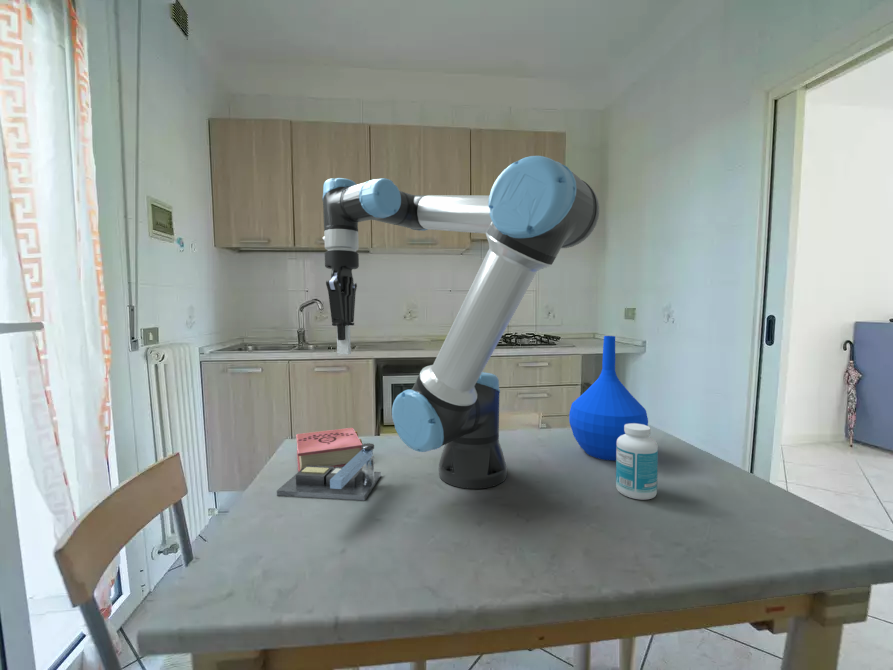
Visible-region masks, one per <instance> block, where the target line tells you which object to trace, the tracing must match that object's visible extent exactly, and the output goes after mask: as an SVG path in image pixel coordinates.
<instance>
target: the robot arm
mask: <svg viewBox="0 0 893 670" xmlns="http://www.w3.org/2000/svg"><path fill="white" fill-rule="evenodd" d="M322 189H323V193H322V209H323V211H322V212H323V231H324V233H323V235H324V236H323V237H322V240H323V241H324V249H325V250H326V251H325V252H324V267H325V268H326V269H329V270H331V271H330V272H331V273H330V279H328V280H326V281H325V285H326V289H327V293H328V301H329V307H330V308H329V310H330V317H331V326H332V327H336V355H351V352H352V350H351V349H352V347H351V326H355V321H354V320H355V310H356V309H355V308H356V307H355V306H356V294H357V292H356V291H357V289H358V288H357V287H358V283H357V282H354V276H353V270H357V269H359V267H360V263H359V262H360V261H359V259H360V258H359V253H358V252H357V251H358V250H359V248H360V247H359V245H360V241H359V223H361V222H365V221H377V222H380V223H381V222H382V223H385V224H389V225H395V226H398V227H399V226H400V227H402V228H407V229H410V230H414V231H423V232H424V231H428V230H435V231H448V232H456V233H458V232H460V233H470V234H471V233H472V234H473V233H475V234H485V236H486V238H487V242H488V247H489V249H488V250H487V252H486V254H485V256H484V258H483V261H482V263H481V264H480V267H479V269H478V270H477V273H476V275H475V277H474V280H473V281H472V284H471V286H470V287H469V290H468V292H467V294H466V295H465V298H464V299H463V302H462V304H461V306H460V308H459V310H458V313H457V315H456V316H455V318H454V320H453V323H452V325H451V327H450V329H449V332H448V333H447V335H446V336H445V338H444V339H445V340H444V341H443V343H442V346H441V348H440V350H439V352H438V354H437V356H436V358H435V360H434V361H433V364H430V365H427V366H424V367H422V369H421V370H420V372H419V374H418V376H417V378H416V380H415V382H414V384H413V387H412V388H411V389H405V390H403V391H402V392H400V393H399V394H397V395H396V397H395V399H394V400H393V403H392V406H391V407H392V409H391V417H392V422H393V424H394V429H395V431H396V434H397V435H398V437H399V438H400V440H401V441H402V442H403V444H405V446H407V447H408V448H410V449H411V450H413V451H415V452H419V453H427V452H429V451H435V450H437V449H439V448H441V447H443V449H442V452H441V455H440V458H439V462H438V476H439V478H440V479H441V480H442V481H443V482H444V483H446V484H448V485H450V486H454V487H457V488H460V489H461V488H462V489H470V490H471V489H472V490H473V489H477V490H478V489H486V488H492V487H495V486H497V485H500V484H502V483H503V482H504V481H505V480H506V478H507V472H508V471H507V469H508V468H507V466H508V465H507V463H506V462H507V461H506V458H505V456H504V453H503V452H504V451H503V449H502V446H501V444H500V393H501V389H500V379H499V378H498V376H497V375H496V374H494V373H490V372H484V369H485V367H486V366H487V364H488V362H489V360H490V358H491V357H492V355H493V353H494V351H495V349H496V348H497V346H498V344H499V342H500V340H501V339H502V337H503V335H504V333H505V330H506V329H507V327H508V326H509V325H510V324H509V323H510V322H511V320H512V319H513V316H514V315H515V313H516V311H517V309H518V307H519V306H520V303H522V300H523V298H524V296H525V295H526V292H527V291H528V289H529V287H530V286H531V283H532V282H533V280H534V278H535V277H536V275H537V272H539V271H541V270H544V269H547V268H549V267H551V266H552V265H553V264H554V261H555V260H556V258H557V257H558V254H559V253H560V251H561V250H562V249H568V248H572V247H575V246H578V245H580V244H581V243H583V242H584V241H586V240H587V239H588V238H589V237H590V235H591V234H592V232H594V231H595V228H596V226H597V224H598V221H599V219H600V203H599V199H598V196H597V193H596V192H595V190H594V189H593V188H592V187H591V185H590V184H588V183H587V182H586V181H584V180H582V179H581V178H580V177H578V175H576V174H575V173H574V172H573V171H572V170H571V169H570V167H568V166H566V165H565V164H563V163H561V162H559V161H556V160H554V159H552V158H550V157H547V156H543V155H530V156H526V157H523V158H521V159H519V160H517V161H514V162H513V163H511V164H509V165H508V166H507V167H506V168H504V169H503V170H502V172H501V173H500V174H499V175H498V176H497V178H496V179H495V181H494V182H493V185H492V186H491V189H490V192H489V195H487V194H486V195H477V194H475V195H470V194H469V195H468V194H467V195H465V194H463V195H459V194H458V195H455V194H453V195H452V194H449V195H448V194H446V195H444V194H442V195H441V194H438V195H437V194H436V195H435V194H427V195H426V194H424V195H423V194H422V195H421V194H411V193H408V192H405V191H401V190H400V189H399V188H398V186H397V185H396V184H395V183H394V182H393V181H392V180H391V179H389V178H381V177H380V178H372V179H370V180H367V181H365V182H361V183H358V184H357V183H356V182H355V181H353V179H349V178H343V177H336V178H335V177H333V178H327V180H325V181H324V183H323V188H322Z"/></svg>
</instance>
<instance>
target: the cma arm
mask: <svg viewBox="0 0 893 670" xmlns="http://www.w3.org/2000/svg"><path fill="white" fill-rule="evenodd" d="M362 444H363V443H362ZM361 449H362V450H361V451H360V452H359V453H358V454H357V455H355V456H354V457H353V458H352V459H351V460H350V461H349V462H348V463H347V464H346V465H345V466H343V468H342V469H341V470H340V471H339V472H337V473H336V474H335V475H334V476H333V477H332V478H331V479H330V488H333V489H342V488H343V487H344V486H345V485H346V484H347V483H348V481H349V480H350V479H351V478H352V477H353V476H354V475H355V474H356V473H357V472H358V471H359V470H360V469H361V468H362V467H363V466H364V464H365V463H366V462H367V461H368V460H369V459H370V458H371V457H372V456H373V457H374V455H373V453H374V452H373V450H374V449H375V444H374V443H364V444H363V445H362V446H361Z"/></svg>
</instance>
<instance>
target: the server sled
mask: <svg viewBox="0 0 893 670" xmlns="http://www.w3.org/2000/svg"><path fill="white" fill-rule="evenodd" d="M343 467H344V466H343ZM343 467H335V468H334V467H333V466H312V465H307V466H306V467H305V468H303V469H302V470H300V471H299V472H297V473H295V474H294V475H293V476H292V477H291V478H290V479H288V480H287V481H286V482H285V483H283V485H282V486H280V487H279V488H278V489H277V490H276V496H281V497H298V498H299V497H300V498H312V499H313V498H314V499H331V500H350V501H366V499H368V496H369V495H370V493H371V492H372V490H373V488H374V487H375V486H376V485H377V482H378V481H379V480H380V478H381V477H382V473H381V472H382V471H375V456H374V455H373V456H372V457H371V458H370V459H369V460H368V461H367V462H366V463H365V464H364V466H363V467H362V468H361V469H360V470H359V471H358V472H357V473H356V474H355V475H354V476H353V477H352V478H351V479H350V480H349V481H348V483H347V484H346V485H345V486H344V487H343V488H342V489H333V488H330V479H331V478H332V477H333V476H334V475H335V474H336V473H337V472H339V471H340V470H341V469H342V468H343Z"/></svg>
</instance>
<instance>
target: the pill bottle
mask: <svg viewBox="0 0 893 670" xmlns="http://www.w3.org/2000/svg"><path fill="white" fill-rule="evenodd" d="M624 431H625V433H626V434H624V435H621V436H620V437H618V439H617V449H616V461H615V463H616V464H615V467H616V468H615V487H616V490H617V491H618V493H620V494H621V495H622V496H625V497H628V498H630V499H633V500H644V501H645V500H650V499H654V498H655V497H656V495H657V493H658V465H659V464H658V463H659V461H658V458H659V457H658V456H659V454H658V453H659V452H658V451H659V446H658V443H657V441H656V440H655V439H654V438H652V437H650V435H651V433H652V432H651V427H650V426H649V425H648V426H646V425H643V424H635V423H630V424H625V426H624Z"/></svg>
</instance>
